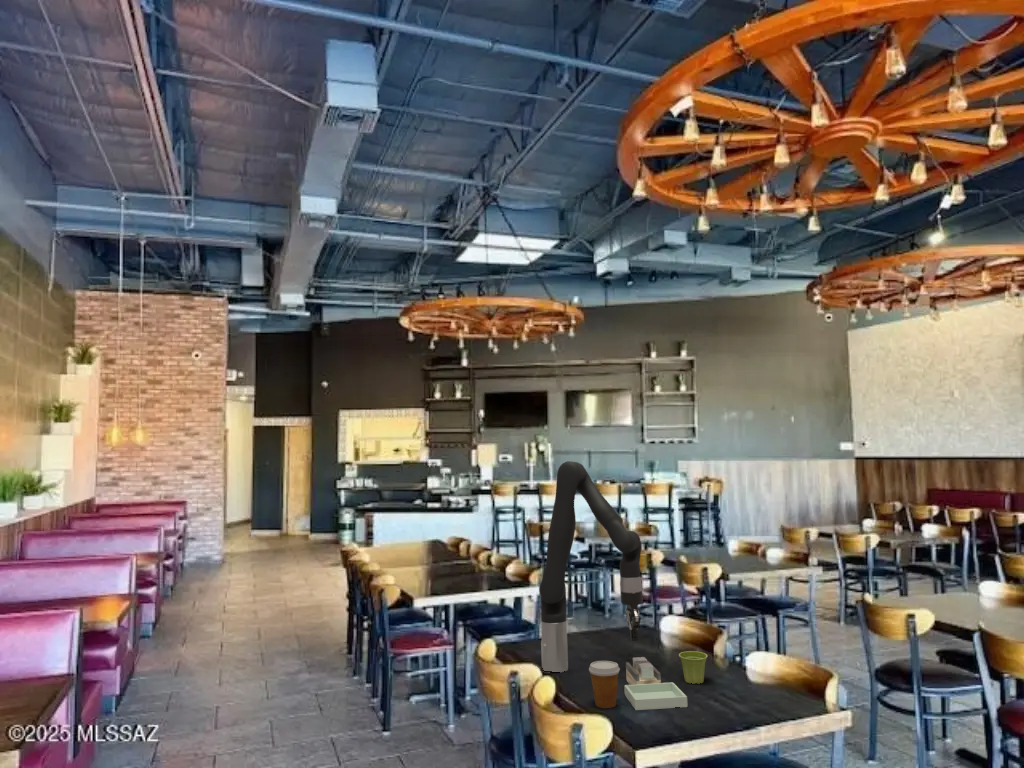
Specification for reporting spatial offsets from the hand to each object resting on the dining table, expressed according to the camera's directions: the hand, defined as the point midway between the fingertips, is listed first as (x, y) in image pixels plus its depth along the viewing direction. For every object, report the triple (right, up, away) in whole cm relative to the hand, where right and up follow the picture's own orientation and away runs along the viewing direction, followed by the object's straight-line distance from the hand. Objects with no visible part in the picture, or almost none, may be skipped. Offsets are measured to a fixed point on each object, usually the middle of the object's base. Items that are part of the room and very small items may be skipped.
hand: (634, 640), depth 251 cm
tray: (+2, -10, -26) cm, 28 cm away
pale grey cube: (+1, -7, -16) cm, 17 cm away
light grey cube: (+1, -7, -9) cm, 11 cm away
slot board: (+1, -11, -12) cm, 16 cm away
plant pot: (+19, -11, -9) cm, 23 cm away
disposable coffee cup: (-14, -10, -28) cm, 33 cm away
